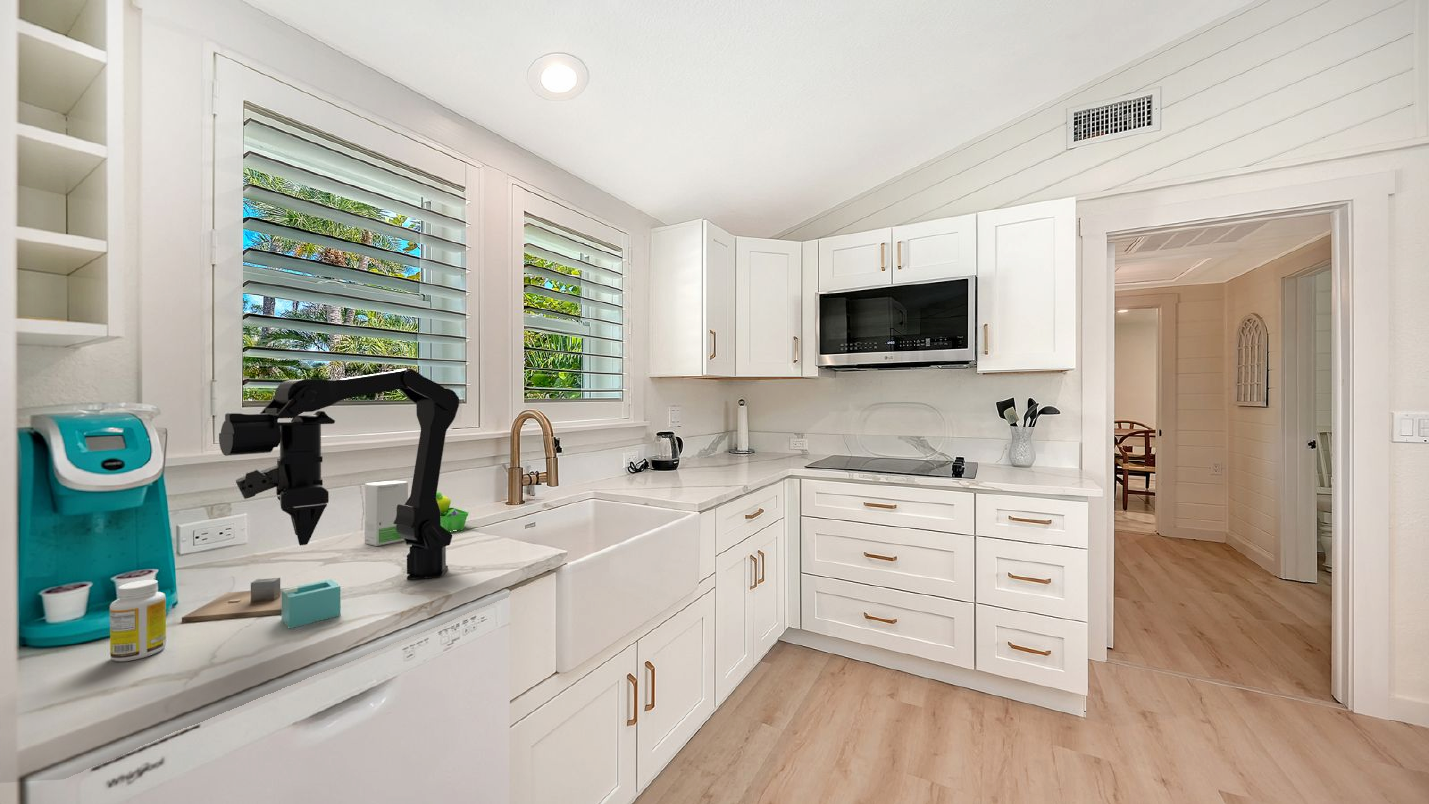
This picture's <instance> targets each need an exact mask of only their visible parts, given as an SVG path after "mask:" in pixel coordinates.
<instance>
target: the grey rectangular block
mask: <svg viewBox="0 0 1429 804" xmlns="http://www.w3.org/2000/svg"><path fill="white" fill-rule="evenodd" d="M280 589H281V577H272V578H271V577H270V578H269V577H268V578H259V579H257V578H256V579H255V580H254V581H252V582H250V591H251V602H263V601H275V600H276V599H278V598H279V597H280Z"/></svg>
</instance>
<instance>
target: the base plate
mask: <svg viewBox="0 0 1429 804" xmlns="http://www.w3.org/2000/svg"><path fill="white" fill-rule="evenodd" d="M287 588H288V587H286V588H285V587H284V588H283V587H282V588H281V587H280V597H279V598H278V599H276V600H275V601H263V602H251V590H243V591H230V592H229V591H228V592H226V593H224V594H223V595H221V596H219V597H217V598H216V599H213V600H211V601H210V602H207V603H206V604H204V605H202V606H201V607H198V608H197V609H195V610H193V611H191V612H189V613H187V614H186V615H184V616H182V617H181V623H188V622H187V621H191V622H202V621H201V620H203V621H211V620H224V619H226V620H228V619H235V618H248V617H259V616H271V615H274V616H275V615H282V594H281V590H283V589H287Z"/></svg>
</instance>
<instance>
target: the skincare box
mask: <svg viewBox="0 0 1429 804" xmlns="http://www.w3.org/2000/svg"><path fill="white" fill-rule="evenodd" d="M408 499H409V481H402V480H386V481H379V482H378V481H376V482H367V483H364V544H366V545H371V546H374V547H379V546H384V545H388V544H394V543H399V542H403V541H404V542H405V540H404V538H403V537H401V536H400V535H399V534H398V533H397V530H396V524H393V523H394V521H395V519H396V515H397V505H398V504H401V505H405V503H406V502H407V500H408Z"/></svg>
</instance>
